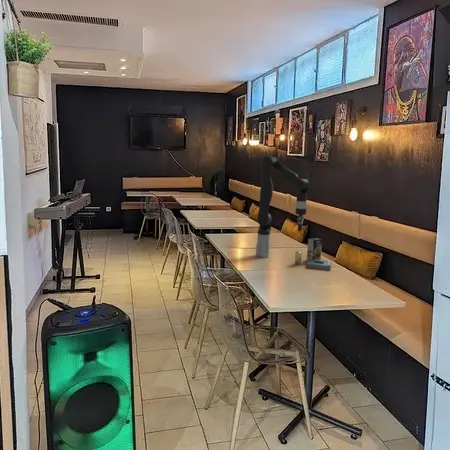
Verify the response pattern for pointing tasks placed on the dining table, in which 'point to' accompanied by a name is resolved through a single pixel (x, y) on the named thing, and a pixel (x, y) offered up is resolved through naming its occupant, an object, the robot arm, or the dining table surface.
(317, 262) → the plate
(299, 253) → the translucent olive cylinder
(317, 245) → the coffee box
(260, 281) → the dining table surface
